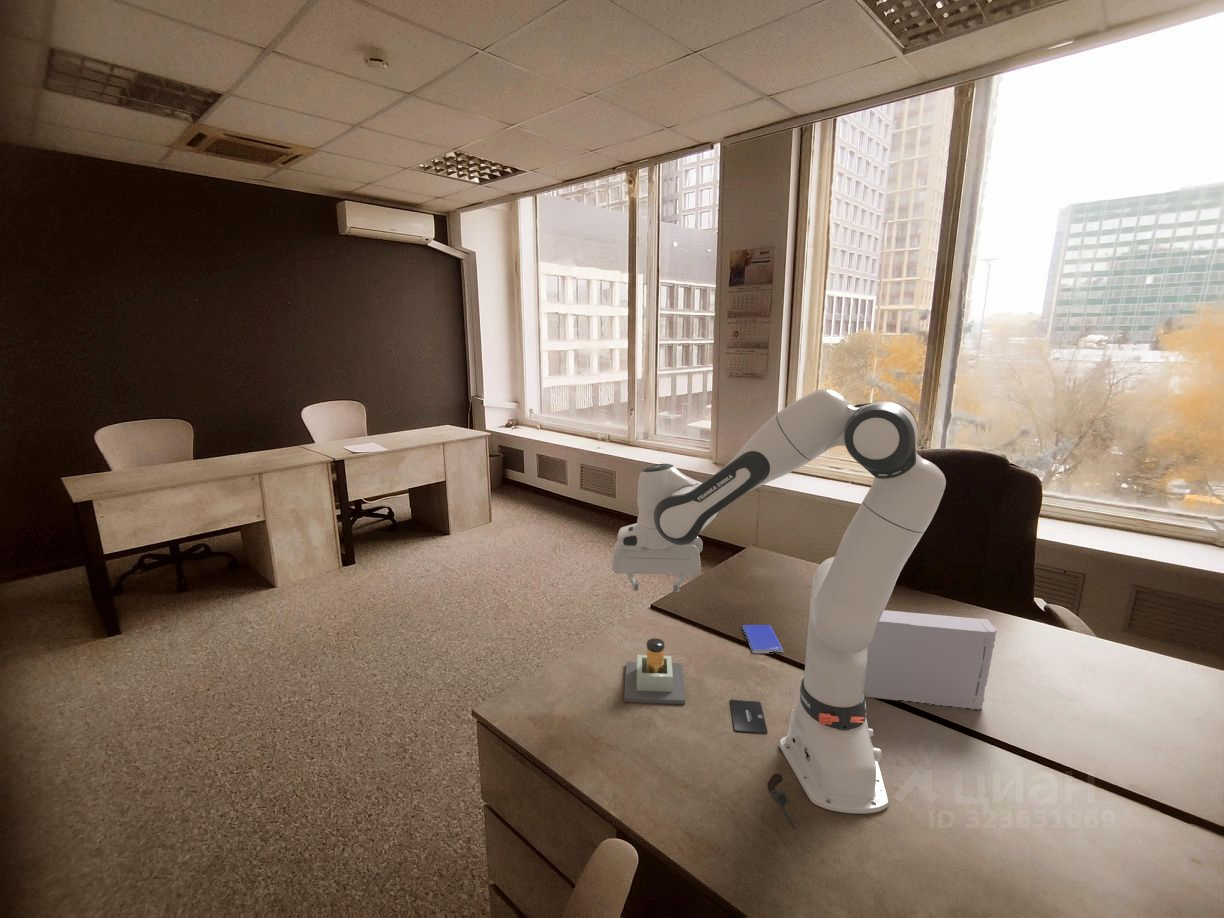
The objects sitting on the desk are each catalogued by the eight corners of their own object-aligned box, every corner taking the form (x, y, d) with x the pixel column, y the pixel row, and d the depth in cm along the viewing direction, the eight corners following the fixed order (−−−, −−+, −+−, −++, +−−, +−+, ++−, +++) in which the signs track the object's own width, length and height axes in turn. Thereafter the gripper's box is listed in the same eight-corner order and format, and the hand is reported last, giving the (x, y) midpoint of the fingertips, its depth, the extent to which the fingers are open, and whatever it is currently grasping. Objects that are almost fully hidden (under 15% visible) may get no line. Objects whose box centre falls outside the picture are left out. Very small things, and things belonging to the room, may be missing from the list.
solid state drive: (760, 704, 126) (760, 701, 126) (767, 735, 116) (767, 732, 116) (729, 702, 127) (729, 699, 126) (734, 733, 117) (734, 730, 117)
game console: (985, 712, 122) (1000, 633, 118) (856, 696, 128) (865, 620, 123) (974, 695, 128) (988, 619, 123) (850, 681, 133) (859, 607, 128)
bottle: (663, 685, 130) (664, 648, 128) (646, 685, 130) (646, 647, 128) (663, 674, 134) (664, 638, 132) (646, 674, 135) (646, 637, 132)
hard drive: (783, 649, 144) (770, 624, 156) (752, 649, 144) (742, 624, 156) (783, 655, 145) (770, 629, 157) (752, 655, 145) (742, 629, 157)
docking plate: (685, 704, 125) (685, 685, 124) (624, 701, 126) (624, 682, 125) (681, 667, 139) (682, 649, 138) (626, 665, 140) (626, 647, 139)
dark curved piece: (760, 778, 105) (761, 775, 105) (779, 775, 106) (780, 772, 106) (800, 846, 92) (801, 842, 92) (821, 841, 93) (822, 838, 93)
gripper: (701, 529, 126) (699, 584, 129) (613, 528, 127) (613, 582, 130) (704, 540, 120) (702, 597, 123) (611, 538, 121) (611, 595, 124)
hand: (655, 590), depth 127 cm, fingers open, 8 cm apart
